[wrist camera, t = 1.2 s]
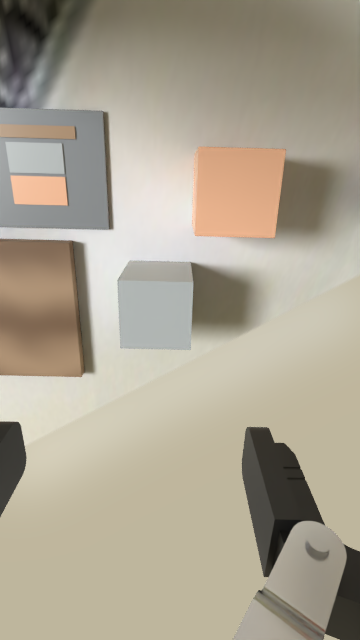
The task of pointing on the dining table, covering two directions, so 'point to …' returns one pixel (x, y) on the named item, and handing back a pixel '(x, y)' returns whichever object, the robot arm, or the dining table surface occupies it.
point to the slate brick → (155, 305)
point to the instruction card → (53, 169)
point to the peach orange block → (237, 191)
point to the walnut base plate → (39, 309)
